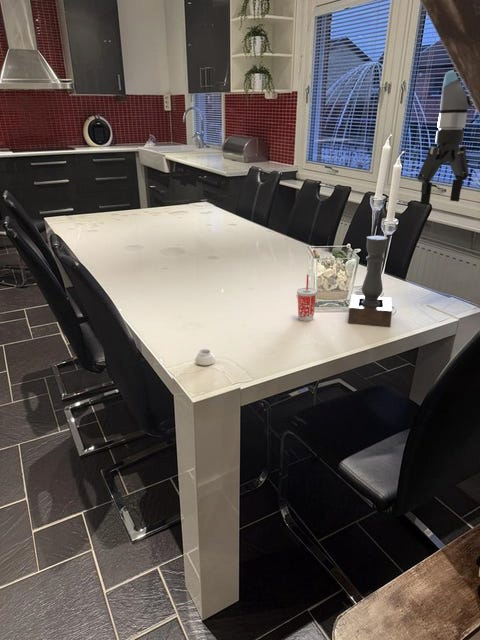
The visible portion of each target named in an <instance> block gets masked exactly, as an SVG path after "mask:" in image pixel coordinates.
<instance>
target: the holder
mask: <svg viewBox="0 0 480 640" xmlns="http://www.w3.org/2000/svg"><path fill="white" fill-rule="evenodd" d="M363 299H364V295H357V294H351V296H350V302H349V306H348V307H349V308H348V317H347V318H348V319H347V324H353V325H365V326H374V327H384V328H385V327H386V328H391V324H392V317H393V316H392V315H393V301H392V297H384V296H383V297H382V296H379V298H378V300H379V302H380V306H379V307H369V306H361V305H362V304H361V302H362V301H363Z"/></svg>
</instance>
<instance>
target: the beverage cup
mask: <svg viewBox="0 0 480 640" xmlns="http://www.w3.org/2000/svg"><path fill="white" fill-rule="evenodd" d="M305 286H306V287H299V288H297V289H296V294H297V319H298V320H299V321H302V320H304V321H303V322H310V320H311V321H313V320H314V315H315V308H316V307H315V306H316V297H317V295H318V290H317V289H316V288H312V287H309V274H306V285H305Z"/></svg>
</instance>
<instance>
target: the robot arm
mask: <svg viewBox="0 0 480 640" xmlns="http://www.w3.org/2000/svg"><path fill="white" fill-rule="evenodd" d="M454 70H455V69H452V70H448V71H446V72H445V75H444V77H443V83H442V87H441V97H440V104H439V105H440V106H439V113H438V121H437V128H438V129H437V131H436V133H435V144H436V145H437V146H429V147H428V150H427V155H426V158H425V160H424V162H423V164H422V166H421V169H420V170H419V173H418V175H417V177H416V180H418V181H419V182H420V183H421V188H420V189H421V190H420V193H421V196H420V203H419V205H423V206H424V205H425V206H430V203H431V201H430V200H431V196H432V195H431V194H432V188H433V182H431V181H432V179H434V176H435V175H436V173H437V172H438V171H439V170H440V167H441V166H442V165H444V164H446V163H448V164H449V166H450V168H451V172H452V173H453V175H454V178H455V179H452V180H453V181H452V185H451V191H450V192H451V193H450V199H449V201H451V202H457V203H458V202H460V199H461V198H460V197H461V191H462V188H463V182H464V181H466V180H467V178H469V176H470V175H469V166H468V161H467V159H468V158H467V146H466V145H460V144H462V143H463V142H464V141H463V140H464V135H465V130H464V129H463V128H466V123H467V117H468V109H469V107H473V106H472V104H471V102H470V100H469V99H468V97H467V95H466V93H465V92H464V90H463V88H462V86H461V83H460V81H459V79H458V77H457V75H456V73H455V72H454Z"/></svg>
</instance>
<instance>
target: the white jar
mask: <svg viewBox="0 0 480 640" xmlns="http://www.w3.org/2000/svg"><path fill="white" fill-rule="evenodd" d="M194 362H195V363H196V364H197V365H199V366H209V365H213V364H214V363H215V362H216V357H215V356H214V353H213V352H212V350H211V349H210V348H209V349H208V348H203V349H200V350H198V353H197V355H196V356H195V359H194Z"/></svg>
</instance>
